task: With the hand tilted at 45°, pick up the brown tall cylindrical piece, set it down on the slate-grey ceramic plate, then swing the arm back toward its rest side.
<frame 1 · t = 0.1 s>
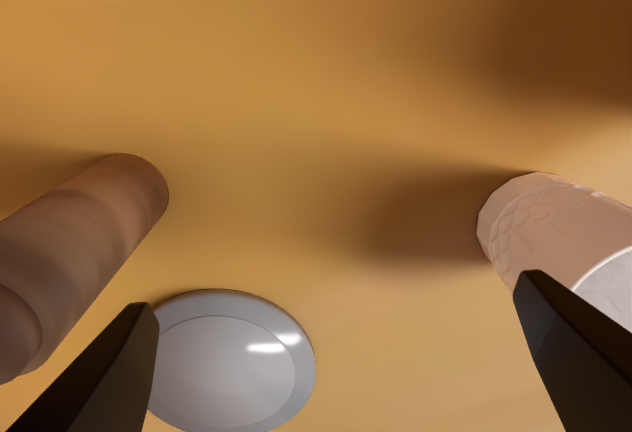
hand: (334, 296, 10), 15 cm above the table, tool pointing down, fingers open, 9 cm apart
plate: (224, 364, 31), on the table
brown tall cylindrical piece: (129, 191, 25), on the table
white cup: (525, 218, 26), on the table
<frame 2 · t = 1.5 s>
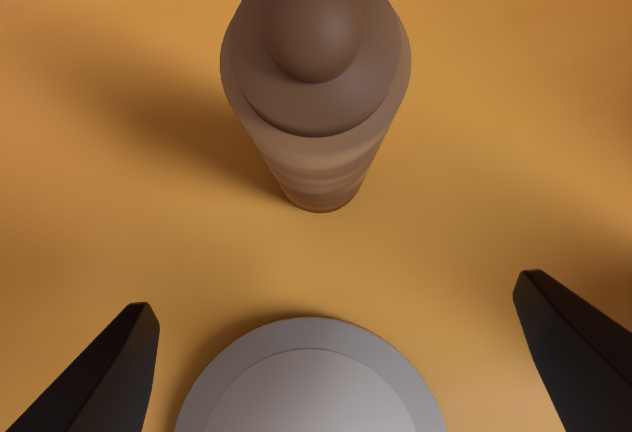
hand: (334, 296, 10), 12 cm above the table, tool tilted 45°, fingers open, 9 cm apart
brown tall cylindrical piece: (320, 170, 22), on the table
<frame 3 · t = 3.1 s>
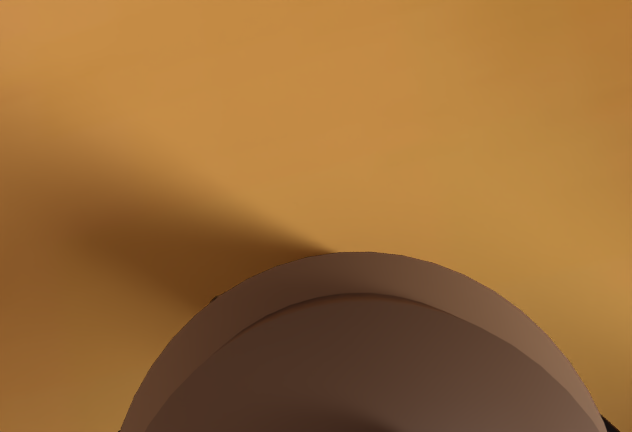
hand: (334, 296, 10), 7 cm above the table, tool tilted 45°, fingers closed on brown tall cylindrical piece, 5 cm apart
brown tall cylindrical piece: (332, 315, 16), on the table, touching gripper
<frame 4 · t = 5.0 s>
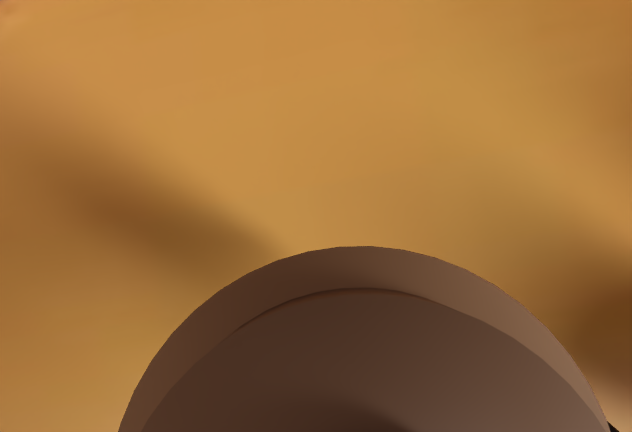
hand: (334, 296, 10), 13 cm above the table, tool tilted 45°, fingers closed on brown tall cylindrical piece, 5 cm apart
brown tall cylindrical piece: (333, 313, 16), point 6 cm above the table, touching gripper
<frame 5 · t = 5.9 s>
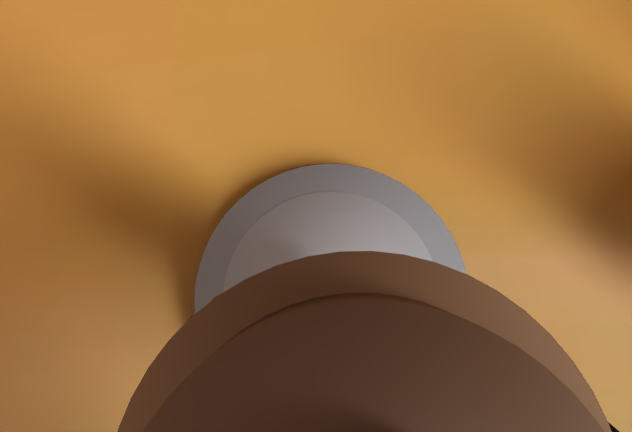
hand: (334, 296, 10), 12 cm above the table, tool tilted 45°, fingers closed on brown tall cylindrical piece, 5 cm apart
plate: (330, 296, 21), on the table
brown tall cylindrical piece: (333, 315, 16), point 5 cm above the table, touching gripper
when the fingers open (9 cm above the table, at t = 6.7 s): brown tall cylindrical piece drops 1 cm, resting on plate.
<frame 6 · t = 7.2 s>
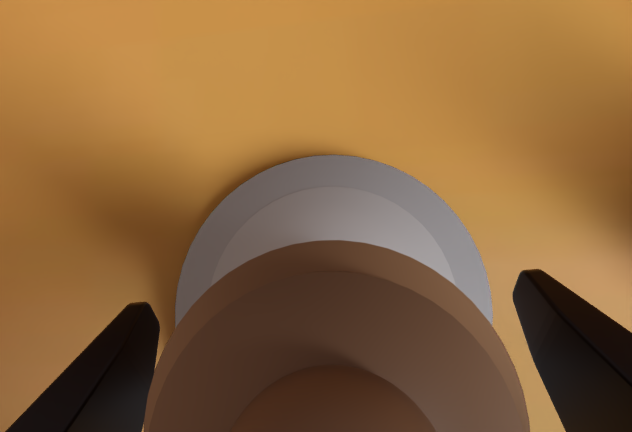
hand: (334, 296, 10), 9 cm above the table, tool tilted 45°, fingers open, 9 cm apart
plate: (332, 307, 19), on the table
brown tall cylindrical piece: (332, 313, 17), point 1 cm above the table, touching plate
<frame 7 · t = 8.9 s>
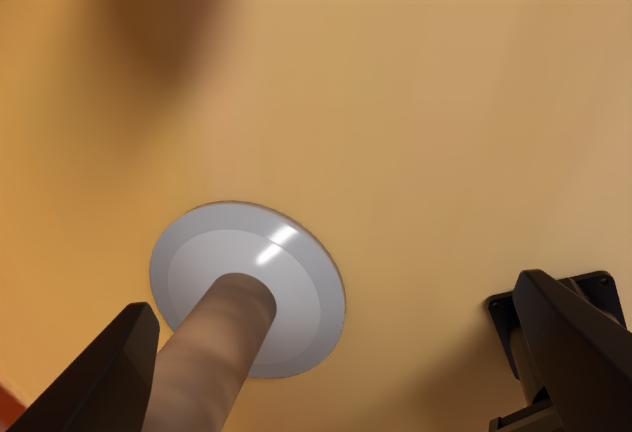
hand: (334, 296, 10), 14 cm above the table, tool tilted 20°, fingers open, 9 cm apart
plate: (247, 292, 28), on the table
brown tall cylindrical piece: (242, 302, 27), point 1 cm above the table, touching plate
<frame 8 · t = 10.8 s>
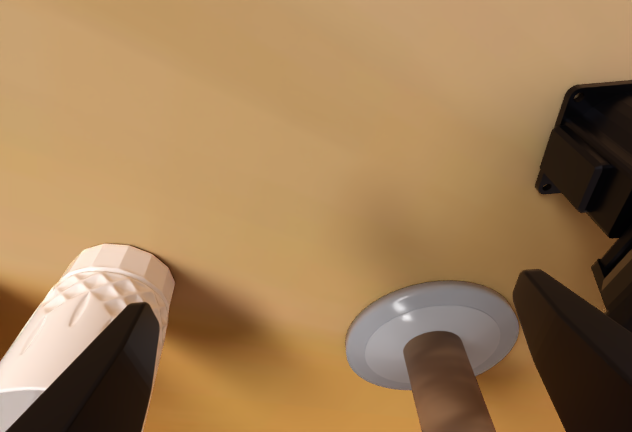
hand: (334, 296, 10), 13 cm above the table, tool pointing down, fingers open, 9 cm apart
plate: (428, 336, 34), on the table
brown tall cylindrical piece: (432, 348, 33), point 1 cm above the table, touching plate
white cup: (126, 275, 28), on the table
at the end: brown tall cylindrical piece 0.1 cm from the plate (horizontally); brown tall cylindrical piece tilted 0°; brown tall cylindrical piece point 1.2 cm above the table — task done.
